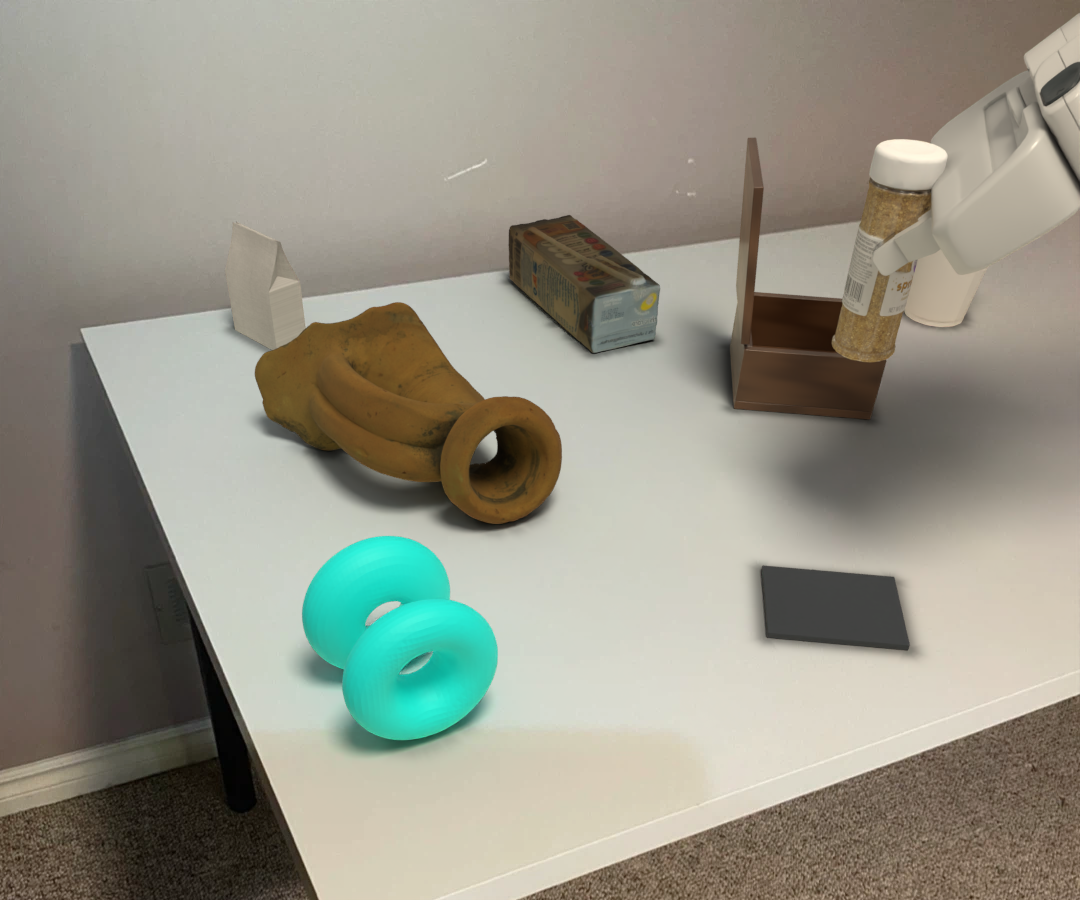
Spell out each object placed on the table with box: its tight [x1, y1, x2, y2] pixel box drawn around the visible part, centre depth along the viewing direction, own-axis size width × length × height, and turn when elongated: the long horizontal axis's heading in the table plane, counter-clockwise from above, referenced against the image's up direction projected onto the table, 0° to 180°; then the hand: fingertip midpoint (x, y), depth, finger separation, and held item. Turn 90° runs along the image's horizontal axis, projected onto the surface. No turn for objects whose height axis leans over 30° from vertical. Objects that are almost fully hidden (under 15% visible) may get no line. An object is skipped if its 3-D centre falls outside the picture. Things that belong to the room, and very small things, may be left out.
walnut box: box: [729, 291, 888, 421], centre depth 102 cm, size 13×13×6 cm
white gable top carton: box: [224, 221, 307, 351], centre depth 103 cm, size 4×7×10 cm, turn 48°
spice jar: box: [832, 138, 948, 362], centre depth 73 cm, size 5×5×14 cm
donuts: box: [301, 535, 499, 741], centre depth 67 cm, size 10×10×10 cm
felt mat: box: [760, 564, 911, 651], centre depth 79 cm, size 10×8×1 cm
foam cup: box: [903, 249, 989, 328], centre depth 111 cm, size 10×9×13 cm
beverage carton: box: [508, 214, 661, 354], centre depth 111 cm, size 8×19×7 cm, turn 27°
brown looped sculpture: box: [254, 301, 563, 525], centre depth 86 cm, size 18×13×22 cm
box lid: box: [735, 137, 765, 344], centre depth 95 cm, size 13×13×1 cm
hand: (878, 248), depth 72 cm, fingers closed on spice jar, 4 cm apart
